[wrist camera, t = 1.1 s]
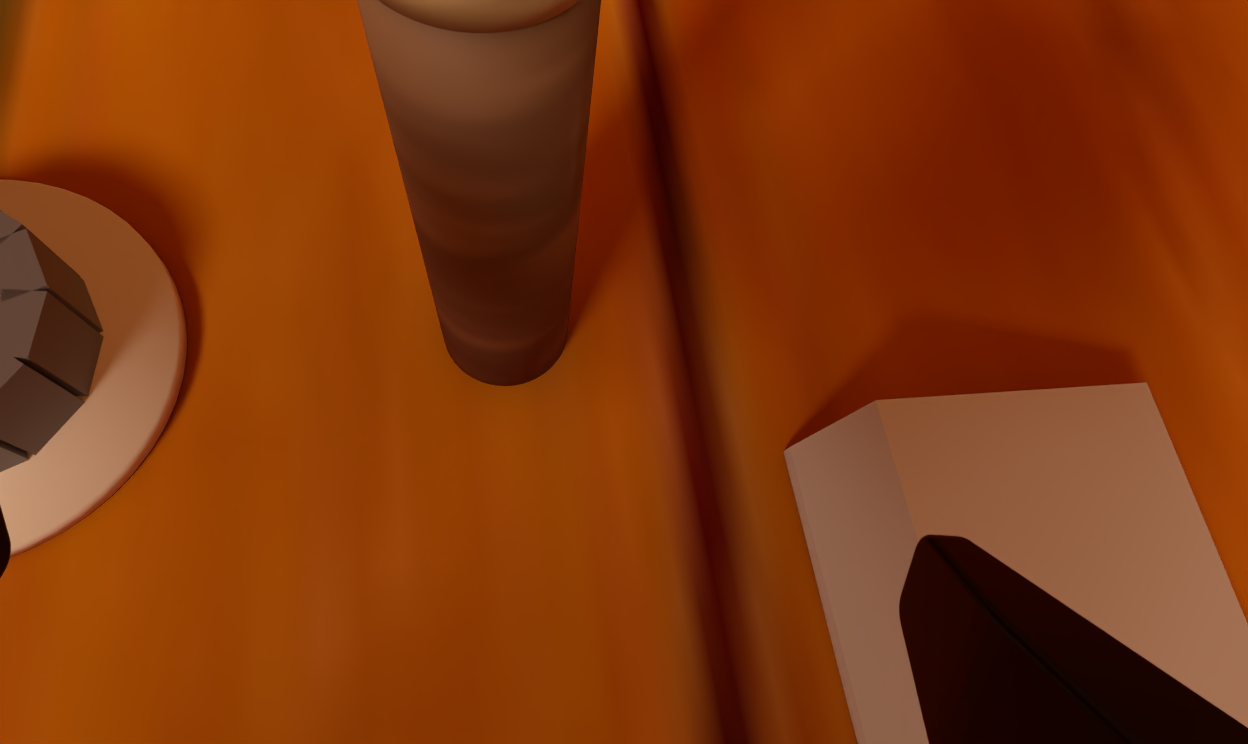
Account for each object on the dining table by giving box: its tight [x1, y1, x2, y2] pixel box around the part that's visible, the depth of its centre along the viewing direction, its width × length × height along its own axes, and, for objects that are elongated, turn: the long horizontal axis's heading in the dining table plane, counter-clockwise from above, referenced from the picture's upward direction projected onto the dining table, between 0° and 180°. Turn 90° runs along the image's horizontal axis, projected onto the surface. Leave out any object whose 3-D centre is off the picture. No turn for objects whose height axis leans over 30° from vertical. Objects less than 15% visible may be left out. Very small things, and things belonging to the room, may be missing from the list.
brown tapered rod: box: [357, 0, 601, 386], centre depth 17 cm, size 4×4×15 cm
